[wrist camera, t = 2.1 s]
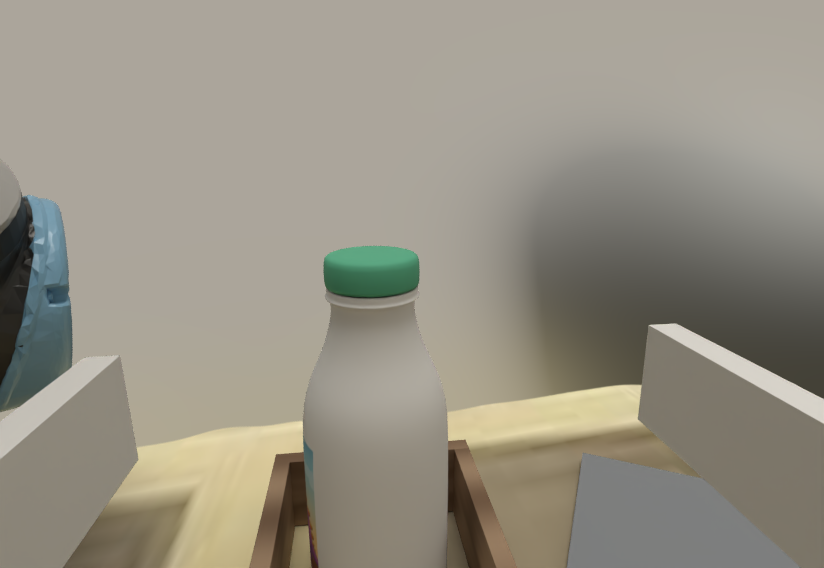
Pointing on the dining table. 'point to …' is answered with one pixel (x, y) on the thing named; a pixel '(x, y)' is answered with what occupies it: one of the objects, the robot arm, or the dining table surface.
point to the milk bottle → (375, 422)
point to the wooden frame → (465, 499)
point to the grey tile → (661, 522)
